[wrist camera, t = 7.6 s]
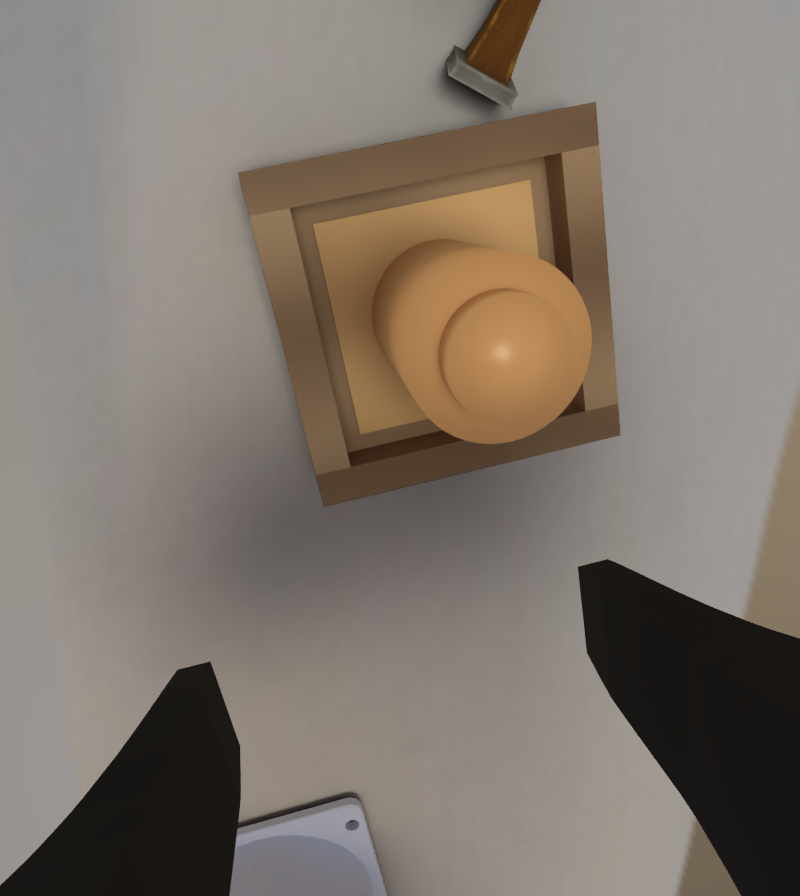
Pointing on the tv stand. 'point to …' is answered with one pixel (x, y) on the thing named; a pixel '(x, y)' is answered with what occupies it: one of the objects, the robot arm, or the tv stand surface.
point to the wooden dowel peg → (482, 337)
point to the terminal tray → (389, 235)
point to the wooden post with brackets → (494, 51)
